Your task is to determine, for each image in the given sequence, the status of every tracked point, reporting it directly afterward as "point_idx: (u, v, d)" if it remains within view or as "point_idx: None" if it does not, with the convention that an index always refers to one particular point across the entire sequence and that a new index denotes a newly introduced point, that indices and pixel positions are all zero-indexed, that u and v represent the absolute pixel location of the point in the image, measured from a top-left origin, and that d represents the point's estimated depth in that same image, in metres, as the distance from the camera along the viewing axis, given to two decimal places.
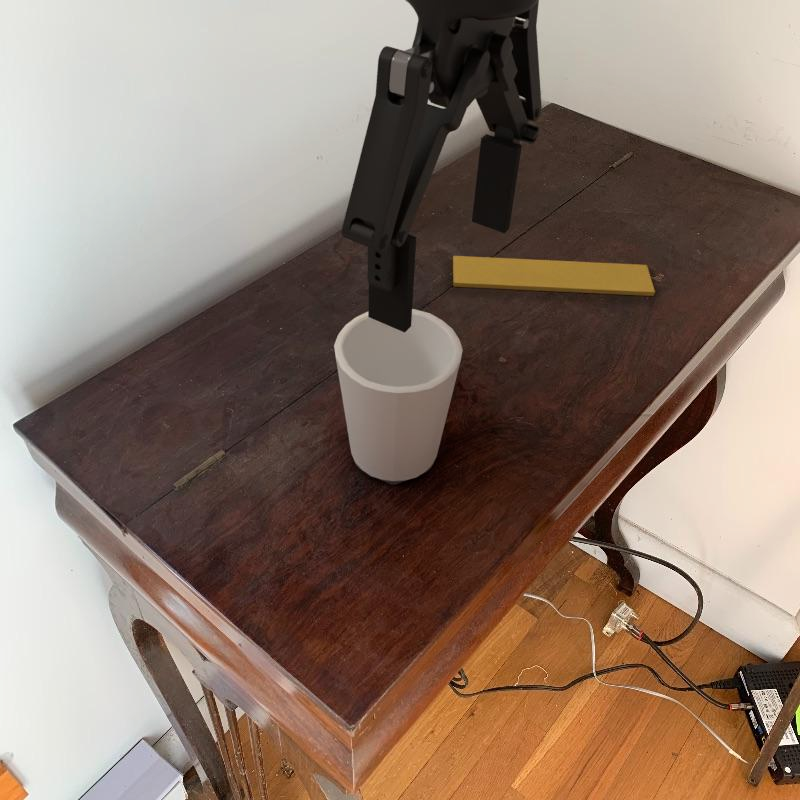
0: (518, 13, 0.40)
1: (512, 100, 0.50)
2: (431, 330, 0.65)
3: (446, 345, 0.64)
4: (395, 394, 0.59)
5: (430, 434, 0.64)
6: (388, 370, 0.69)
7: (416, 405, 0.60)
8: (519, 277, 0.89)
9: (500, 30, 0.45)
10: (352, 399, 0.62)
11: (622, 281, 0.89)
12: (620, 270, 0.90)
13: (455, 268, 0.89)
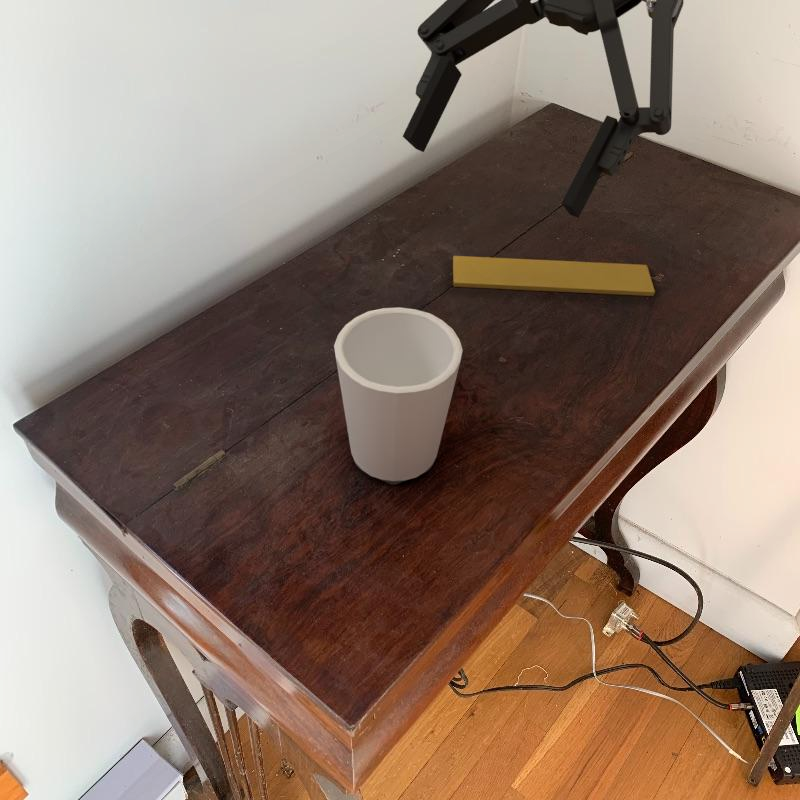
0: None
1: (614, 56, 0.55)
2: (431, 330, 0.65)
3: (446, 345, 0.64)
4: (395, 394, 0.59)
5: (430, 434, 0.64)
6: (388, 370, 0.69)
7: (416, 405, 0.60)
8: (519, 277, 0.89)
9: None
10: (352, 399, 0.62)
11: (622, 281, 0.89)
12: (620, 270, 0.90)
13: (455, 268, 0.89)
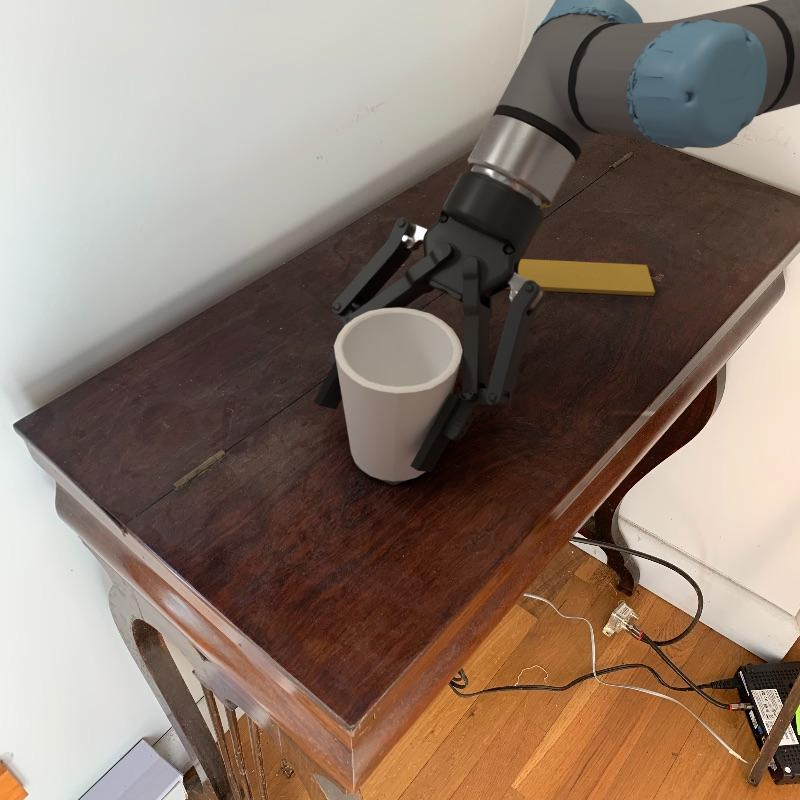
0: (456, 212, 0.61)
1: (469, 338, 0.62)
2: (431, 330, 0.65)
3: (446, 345, 0.64)
4: (395, 394, 0.59)
5: None
6: (388, 370, 0.69)
7: (416, 405, 0.60)
8: None
9: (486, 264, 0.62)
10: (352, 399, 0.62)
11: (622, 281, 0.89)
12: (620, 270, 0.90)
13: None
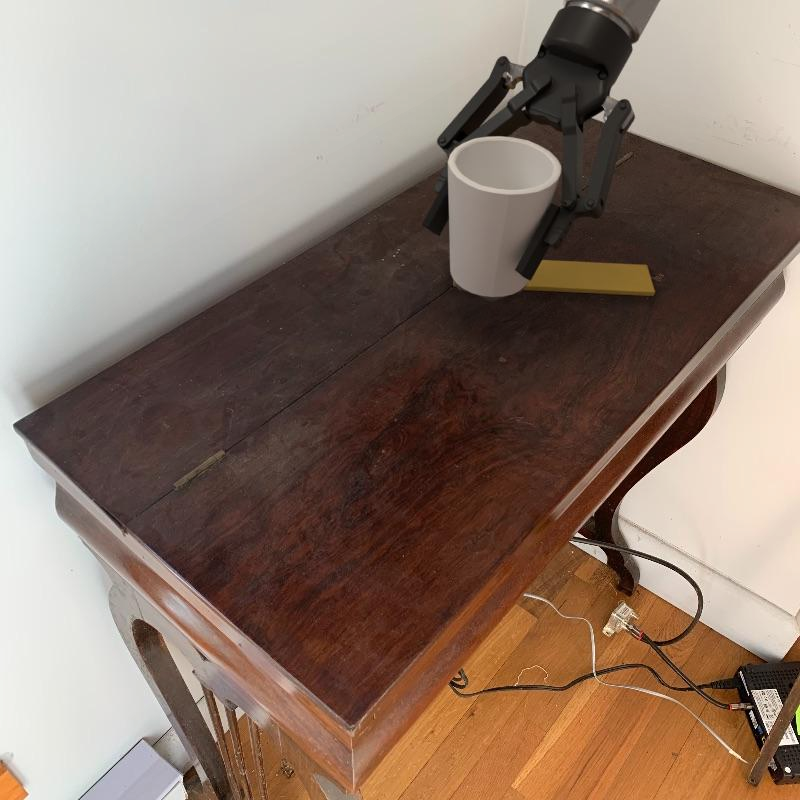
0: (556, 41, 0.69)
1: (568, 154, 0.70)
2: (529, 155, 0.73)
3: (544, 166, 0.72)
4: (507, 196, 0.67)
5: None
6: None
7: (523, 209, 0.68)
8: None
9: (582, 90, 0.70)
10: (464, 209, 0.70)
11: (622, 281, 0.89)
12: (620, 270, 0.90)
13: None
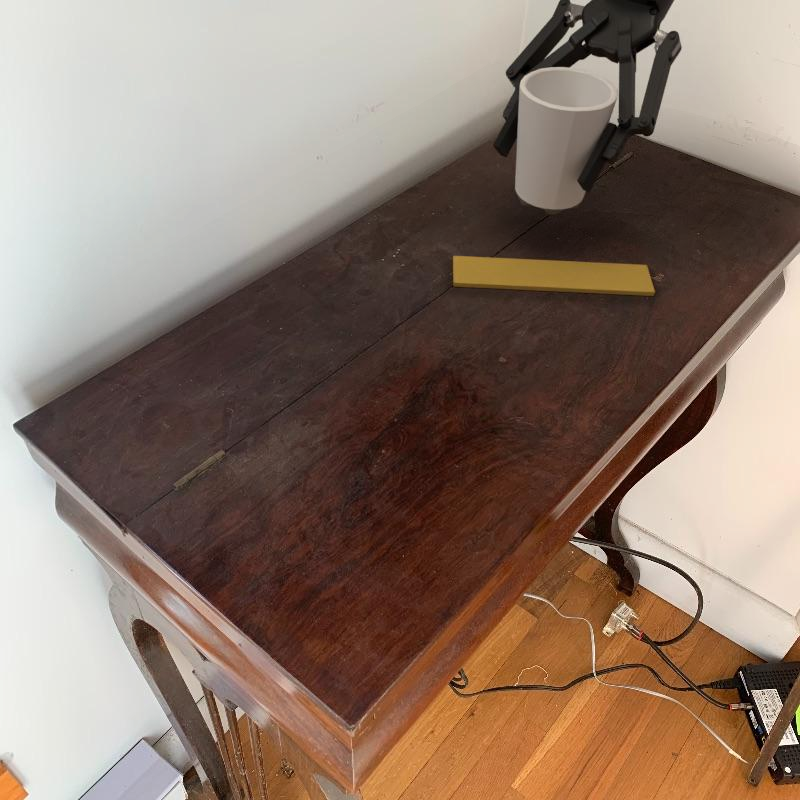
0: None
1: (623, 80, 0.81)
2: (588, 83, 0.84)
3: (601, 92, 0.83)
4: (573, 113, 0.78)
5: None
6: None
7: (586, 125, 0.79)
8: (519, 277, 0.89)
9: (636, 24, 0.81)
10: (534, 126, 0.80)
11: (622, 281, 0.89)
12: (620, 270, 0.90)
13: (455, 268, 0.89)
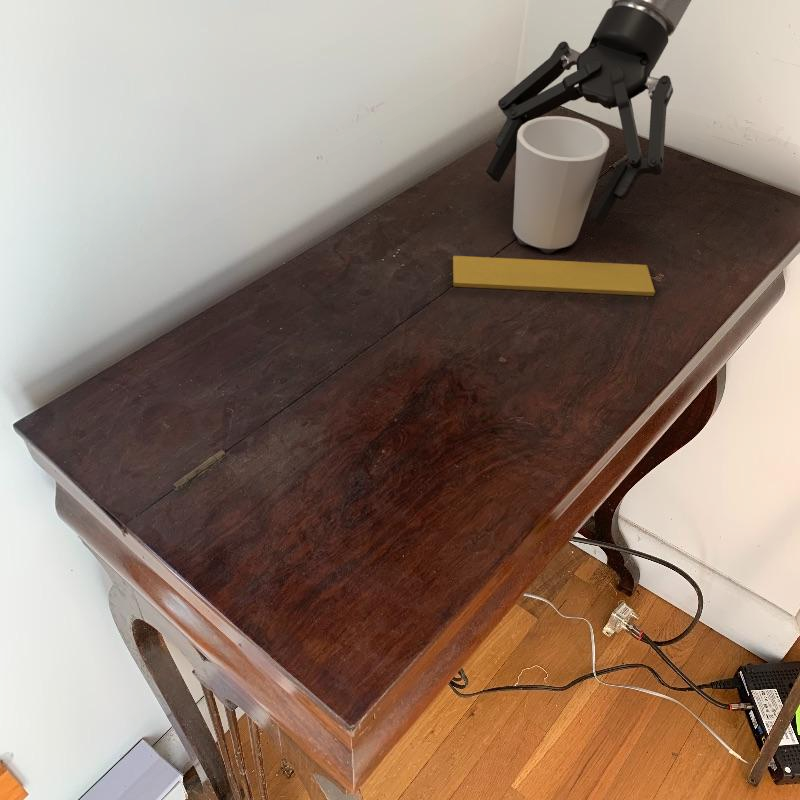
0: (607, 34, 0.85)
1: (626, 124, 0.85)
2: (581, 132, 0.89)
3: (594, 140, 0.88)
4: (567, 162, 0.83)
5: (582, 206, 0.88)
6: None
7: (580, 173, 0.84)
8: (519, 277, 0.89)
9: (627, 73, 0.86)
10: (531, 174, 0.86)
11: (622, 281, 0.89)
12: (620, 270, 0.90)
13: (455, 268, 0.89)
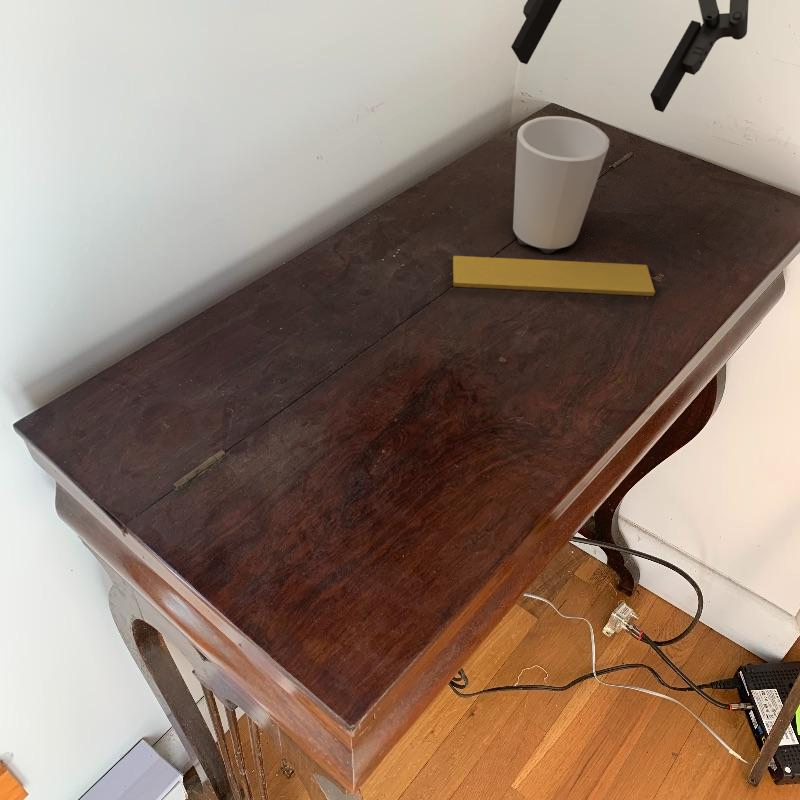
0: None
1: None
2: (581, 132, 0.89)
3: (594, 140, 0.88)
4: (567, 162, 0.83)
5: (582, 206, 0.88)
6: None
7: (580, 173, 0.84)
8: (519, 277, 0.89)
9: None
10: (531, 174, 0.86)
11: (622, 281, 0.89)
12: (620, 270, 0.90)
13: (455, 268, 0.89)
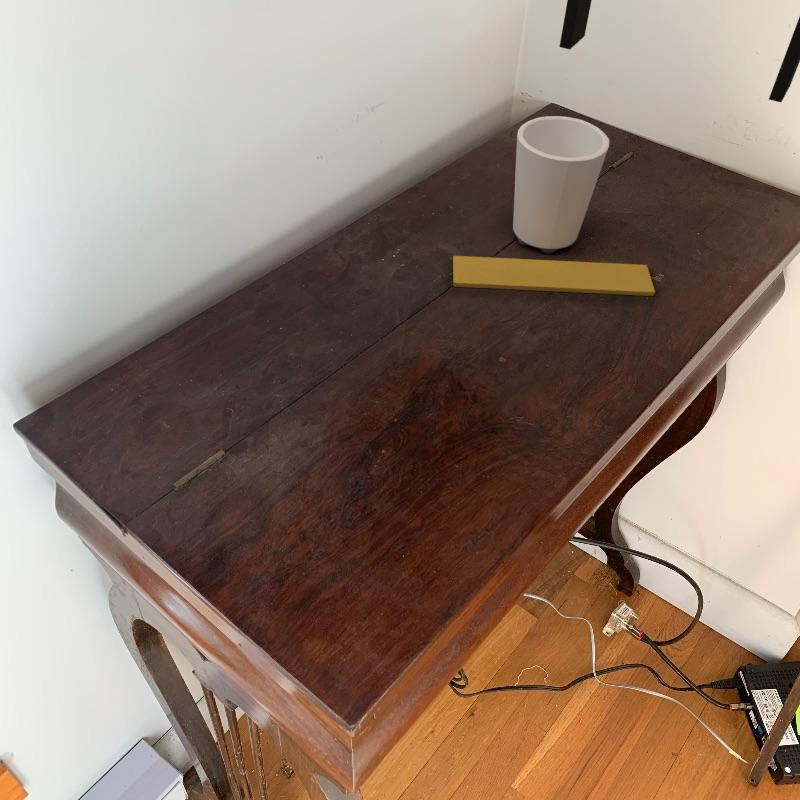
0: None
1: None
2: (581, 132, 0.89)
3: (594, 140, 0.88)
4: (567, 162, 0.83)
5: (582, 206, 0.88)
6: None
7: (580, 173, 0.84)
8: (519, 277, 0.89)
9: None
10: (531, 174, 0.86)
11: (622, 281, 0.89)
12: (620, 270, 0.90)
13: (455, 268, 0.89)
